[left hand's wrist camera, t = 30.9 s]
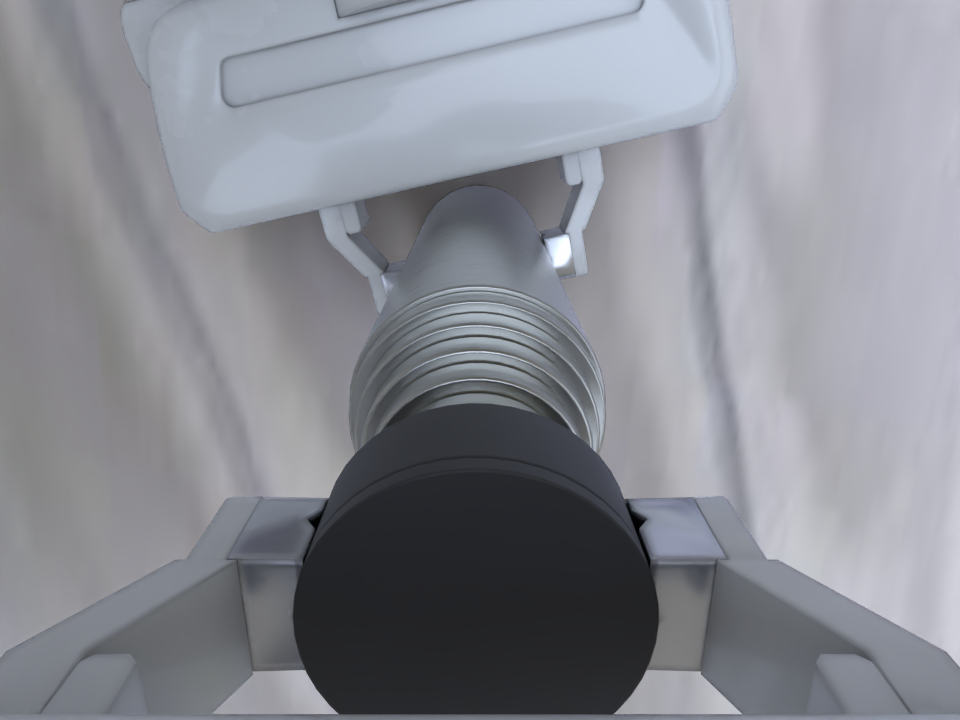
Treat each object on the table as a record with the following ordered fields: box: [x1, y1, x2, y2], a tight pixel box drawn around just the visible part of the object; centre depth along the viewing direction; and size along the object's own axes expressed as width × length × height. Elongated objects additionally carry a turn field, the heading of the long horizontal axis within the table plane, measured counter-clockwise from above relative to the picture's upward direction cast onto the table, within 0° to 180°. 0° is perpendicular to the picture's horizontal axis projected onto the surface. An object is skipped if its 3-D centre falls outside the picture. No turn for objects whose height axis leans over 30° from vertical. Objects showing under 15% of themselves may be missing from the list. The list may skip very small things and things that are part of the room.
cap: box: [292, 403, 659, 714], centre depth 9 cm, size 4×4×2 cm
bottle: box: [349, 186, 606, 455], centre depth 21 cm, size 6×6×25 cm
